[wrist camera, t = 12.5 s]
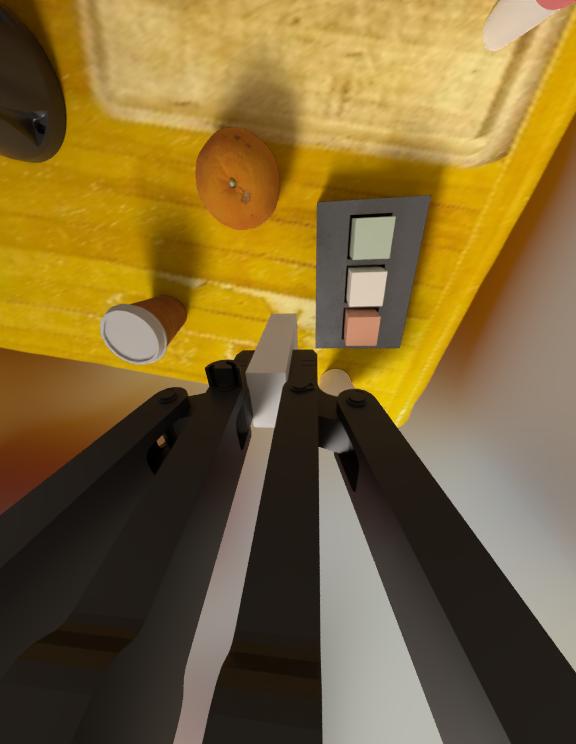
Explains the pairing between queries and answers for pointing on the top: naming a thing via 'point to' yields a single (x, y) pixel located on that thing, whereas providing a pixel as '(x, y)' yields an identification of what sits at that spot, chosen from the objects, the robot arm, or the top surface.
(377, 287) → the key cream
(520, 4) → the cup
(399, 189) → the top surface
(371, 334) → the key terracotta
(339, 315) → the panel
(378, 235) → the key sage
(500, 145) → the top surface
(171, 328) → the disposable coffee cup
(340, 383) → the cup
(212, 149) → the fruit
